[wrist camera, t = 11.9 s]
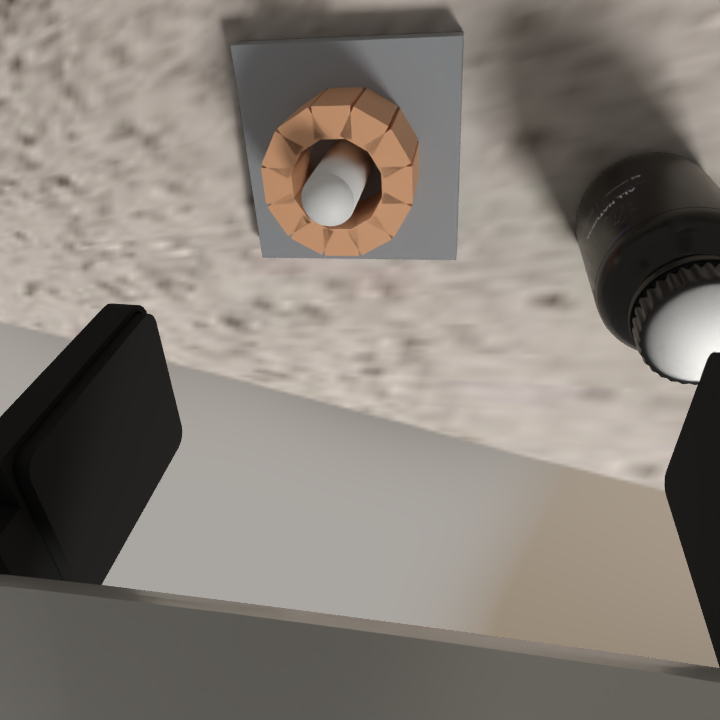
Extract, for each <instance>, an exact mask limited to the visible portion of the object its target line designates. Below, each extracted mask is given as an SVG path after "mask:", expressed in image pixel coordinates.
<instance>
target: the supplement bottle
mask: <svg viewBox="0 0 720 720" xmlns="http://www.w3.org/2000/svg"><path fill="white" fill-rule="evenodd" d="M576 235H577V239H578V244H579V248H580V251H581V255H582V258H583V262H584V265H585V269H586V272H587V275H588V279H589V282H590V286H591V289H592V293H593V296H594V300H595V303H596V306H597V309H598V312H599V314H600V317H601V319H602V321H603V323H604V324H605V326H606V327H607V329H608V330H609V331H610V332H611V333H612V334H613V335H614V336H615V337H616V338H617V339H618V340H619V341H621V342H622V343H624V344H625V345H627V346H629V347H631V348H633V349H635V350H637V351H638V352H639V353H640V355H641V356H642V358H643V361H644V362H645V364H647V365H649V366H650V369H651V370H652V371H654V372H656V373H658V374H659V375H660V376H661V377H664V378H668V379H669V380H670V381H674V382H675V381H677V382H680V383H682V384H688V383H690V384H693V385H697V384H698V383H699V380H700V378H701V375H702V372H703V369H704V367H705V364H706V361H707V359H708V357H709V355H710V354H711V353H713V352H720V188H719V187H718V186H717V185H716V184H715V182H714V181H713V180H712V179H711V178H710V177H709V176H708V175H707V174H706V173H705V172H704V171H703V170H702V169H701V168H700V167H699V166H698V165H696V164H695V163H693V162H692V161H690V160H688V159H686V158H684V157H682V156H679V155H675V154H670V153H661V152H653V153H644V154H639V155H635V156H632V157H629V158H626V159H624V160H622V161H620V162H618V163H616V164H614V165H613V166H611V167H609V168H608V169H607V170H605V171H604V172H603V173H602V174H601V175H599V176H598V177H597V178H596V179H595V180H594V182H593V183H592V184H591V185H590V187H589V188H588V189H587V191H586V193H585V194H584V196H583V198H582V200H581V202H580V205H579V208H578V212H577V216H576Z"/></svg>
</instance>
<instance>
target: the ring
mask: <svg viewBox="0 0 720 720" xmlns="http://www.w3.org/2000/svg"><path fill="white" fill-rule="evenodd" d="M397 107H398V106H397V105H396V104H394V103H392V102H391V101H389V100H387V99H385V98H384V97H382V96H380V95H378V94H377V93H375V92H373V91H372V90H370V89H368V88H367V89H366V90H365V91H364V87H347V88H329V89H328V90H326V89H325V90H324V91H322V92H321V93H319V94H318V95H317V96H315V97H314V98H312V99H311V100H309V101H308V102H306V103H305V104H304V105H302V106H301V107H299V108H298V109H297V110H296V111H295V112H294V113H293V114H292V115H291V116H290V117H289V118H288V119H287V120H286V121H285V122H283V123H282V124H281V125H280V126H279V127H278V128H277V130H276V131H275V133H274V135H273V138H272V140H271V142H270V145H269V147H268V150H267V152H266V155H265V157H264V159H263V162H262V164H261V165H263V166H262V168H261V172H262V179H263V186H264V193H265V200H266V204H269V206H268V209H269V210H270V211H271V213H272V214H273V216H274V217H275V218H276V220H277V221H278V223H279V224H280V225H281V227H282V228H283V230H284V231H285V232H286V234H287V235H288V236H289V235H291V234H293V235H292V237H291V239H293V240H295V241H297V242H298V243H300V244H302V245H304V246H306V247H308V248H310V249H312V250H314V251H315V252H317V253H319V254H321V255H322V253H323V251H324V250H325V256H359V255H360V253H361V254H362V255H364V254H366V253H367V252H369V251H371V250H373V249H375V248H377V247H378V246H380V245H382V244H384V243H386V242H388V241H389V240H391V239H392V237H394V236H395V235H396V233H397V231H398V230H399V228H400V226H401V224H402V223H403V221H404V219H405V218H406V216H407V214H408V212H409V211H410V209H411V207H412V204H413V200H414V196H415V192H416V187H417V183H418V179H419V143H417V141H418V138H417V136H416V135H415V133H414V131H413V129H412V128H411V126H410V124H409V122H408V121H407V119H406V117H405V115H404V114H403V112H402V110H401V108H400V109H399V110H397V111H396V109H397ZM320 139H346V140H348V141H350V142H352V143H354V144H355V145H357V146H359V147H361V148H362V149H364V150H366V151H368V153H369V154H370V156H371V157H372V159H373V161H374V162H375V164H376V166H377V167H378V169H379V170H380V172H381V180H382V190H380V191H379V192H377V193H375V194H374V195H372V196H370V197H368V198H367V199H365V200H358V202H357V205H356V207H355V209H354V211H353V213H352V215H351V217H350V218H349V219H348V220H347V221H345V222H344V223H342V224H340V225H337V226H323V225H320V224H317V223H316V222H314V221H313V220H311V219H310V218H309V216H308V215H307V214H306V212H305V210H304V208H303V205H302V201H301V193H302V189H303V187H304V185H305V183H306V182H307V180H308V179H309V177H310V176H311V175H312V167H311V157H310V148H311V146H312V145H313V144H314V143H316V142H317V141H319V140H320Z"/></svg>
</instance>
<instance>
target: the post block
mask: <svg viewBox="0 0 720 720" xmlns="http://www.w3.org/2000/svg"><path fill="white" fill-rule="evenodd" d="M231 53H232V59H233V66H234V72H235V79H236V86H237V92H238V99H239V105H240V112H241V118H242V125H243V132H244V138H245V145H246V151H247V158H248V165H249V171H250V178H251V184H252V191H253V198H254V204H255V211H256V217H257V224H258V230H259V237H260V244H261V250H262V257H263V258H339V259H416V260H456V255H457V229H458V196H459V163H460V131H461V98H462V65H463V32H444V33H421V34H398V35H375V36H351V37H328V38H305V39H282V40H259V41H240V42H237V43H235V44H233V45H231ZM347 87H364V91H365V90H366V89H367V88H368V89H370V90H372V91H373V92H375V93H377V94H378V95H380V96H382V97H384V98H385V99H387V100H389V101H391V102H392V103H394V104H396V105H397V106H398V107H397V109H396V111H397V110H399V109H400V108H401V110H402V112H403V114H404V115H405V117H406V119H407V121H408V122H409V124H410V126H411V128H412V129H413V131H414V133H415V135H416V136H417V138H418V141H417V143H419V179H418V183H417V187H416V192H415V196H414V200H413V204H412V207H411V209H410V211H409V212H408V214H407V216H406V218H405V219H404V221H403V223H402V224H401V226H400V228H399V230H398V231H397V233H396V235H395V236H394V237H392V239H391V240H389V241H388V242H386V243H384V244H382V245H380V246H378V247H377V248H375V249H373V250H371V251H369V252H367V253H366V254H364V255H362V254H361V253H360V255H359V256H325V250H324V251H323V253H322V255H321V254H319V253H317V252H315V251H314V250H312V249H310V248H308V247H306V246H304V245H302V244H300V243H298V242H297V241H295V240H293V239H291V237H292V235H293V234H291V235H289V236H288V235H287V234H286V232H285V231H284V230H283V228H282V227H281V225H280V224H279V223H278V221H277V220H276V218H275V217H274V216H273V214H272V213H271V211H270V210H269V209H268V206H269V204H266V200H265V193H264V186H263V179H262V172H261V168H262V166H263V165H261V164H262V162H263V159H264V157H265V155H266V152H267V150H268V147H269V145H270V142H271V140H272V138H273V135H274V133H275V131H276V130H277V128H278V127H279V126H280V125H281V124H282V123H283V122H285V121H286V120H287V119H288V118H289V117H290V116H291V115H292V114H293V113H294V112H295V111H296V110H297V109H298V108H299V107H301V106H302V105H304V104H305V103H306V102H308V101H309V100H311V99H312V98H314V97H315V96H317V95H318V94H319V93H321V92H322V91H324V90H325V89H326V90H328V89H329V88H347ZM310 157H311V167H312V175H311V176H310V177H309V179H308V180H307V182H306V183H305V185H304V187H303V189H302V193H301V201H302V205H303V208H304V210H305V212H306V214H307V215H308V216H309V218H310V219H311V220H313V221H314V222H316V223H317V224H320V225H323V226H337V225H340V224H342V223H344V222H345V221H347V220H348V219H349V218H350V217H351V215H352V213H353V211H354V209H355V207H356V205H357V202H358V200H365V199H367V198H368V197H370V196H372V195H374V194H375V193H377V192H379V191H380V190H382V180H381V172H380V170H379V169H378V167H377V166H376V164H375V162H374V161H373V159H372V157H371V156H370V154H369V153H368V151H366V150H364V149H362V148H361V147H359V146H357V145H355V144H354V143H352V142H350V141H348V140H346V139H320V140H319V141H317V142H316V143H314V144H313V145H312V146H311V148H310Z"/></svg>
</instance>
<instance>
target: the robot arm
mask: <svg viewBox="0 0 720 720" xmlns="http://www.w3.org/2000/svg"><path fill="white" fill-rule="evenodd" d="M181 438H182V425H181V422H180V418H179V413H178V409H177V405H176V401H175V397H174V393H173V389H172V385H171V381H170V376H169V372H168V368H167V364H166V360H165V356H164V352H163V348H162V344H161V340H160V336H159V332H158V327H157V323H156V320H155V318H154V316H153V315H151V314H147V312H146V310H145V309H144V308H143V307H142V306H140V305H126V304H107V305H106V306H105V307H104V308H103V309H102V310H101V311H100V312H99V313H98V314H97V315H96V316H95V317H94V318H93V319H92V320H91V321H90V322H89V324H88V325H87V326H86V327H85V328H84V329H83V330H82V331H81V332H80V333H79V334H78V335H77V336H76V337H75V338H74V339H73V340H72V342H71V343H70V344H69V345H68V346H67V347H66V348H65V349H64V350H63V351H62V352H61V353H60V354H59V355H58V356H57V357H56V359H55V360H54V361H53V362H52V363H51V364H50V365H49V366H48V367H47V368H46V369H45V370H44V371H43V372H42V373H41V374H40V375H39V377H38V378H37V379H36V380H35V381H34V382H33V383H32V384H31V385H30V386H29V387H28V388H27V389H26V390H25V391H24V393H22V395H21V396H20V397H19V398H18V399H17V400H16V401H15V402H14V403H13V404H12V405H11V406H10V407H9V409H7V411H6V412H5V413H4V414H3V415H2V416H1V417H0V720H720V668H714V667H708V666H701V665H695V664H688V663H682V662H675V661H668V660H662V659H656V658H649V657H642V656H635V655H628V654H620V653H613V652H606V651H599V650H592V649H584V648H577V647H570V646H562V645H555V644H548V643H540V642H533V641H526V640H519V639H511V638H504V637H497V636H489V635H482V634H475V633H468V632H460V631H453V630H445V629H438V628H430V627H423V626H415V625H408V624H400V623H391V622H385V621H377V620H370V619H362V618H355V617H347V616H339V615H332V614H323V613H316V612H309V611H301V610H293V609H286V608H278V607H271V606H263V605H255V604H247V603H240V602H232V601H224V600H216V599H207V598H200V597H191V596H184V595H176V594H168V593H160V592H152V591H145V590H136V589H129V588H121V587H113V586H105V585H102V583H103V581H104V579H105V578H106V576H107V574H108V572H109V570H110V568H111V567H112V565H113V563H114V562H115V559H116V558H117V556H118V554H119V553H120V551H121V549H122V547H123V545H124V544H125V542H126V540H127V538H128V536H129V535H130V533H131V531H132V529H133V528H134V526H135V524H136V522H137V521H138V519H139V517H140V515H141V513H142V512H143V510H144V508H145V506H146V505H147V503H148V501H149V499H150V497H151V496H152V494H153V492H154V490H155V488H156V487H157V485H158V483H159V481H160V480H161V478H162V476H163V474H164V472H165V471H166V469H167V467H168V465H169V464H170V462H171V460H172V458H173V456H174V455H175V453H176V451H177V449H178V448H179V445H180V442H181ZM665 492H666V496H667V500H668V503H669V506H670V509H671V512H672V516H673V519H674V522H675V525H676V528H677V532H678V535H679V538H680V541H681V545H682V548H683V551H684V554H685V557H686V561H687V564H688V567H689V570H690V574H691V577H692V580H693V583H694V587H695V589H696V593H697V596H698V599H699V603H700V606H701V609H702V612H703V615H704V619H705V622H706V625H707V628H708V631H709V634H710V638H711V641H712V644H713V648H714V651H715V654H716V657H717V661H718V664H719V667H720V352H713V353H711V354H710V355H709V357H708V359H707V361H706V364H705V367H704V369H703V372H702V375H701V378H700V380H699V383H698V386H697V389H696V391H695V394H694V397H693V400H692V402H691V405H690V408H689V411H688V413H687V416H686V419H685V422H684V424H683V427H682V430H681V433H680V435H679V438H678V441H677V444H676V446H675V449H674V452H673V455H672V457H671V460H670V463H669V465H668V468H667V471H666V475H665Z"/></svg>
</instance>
